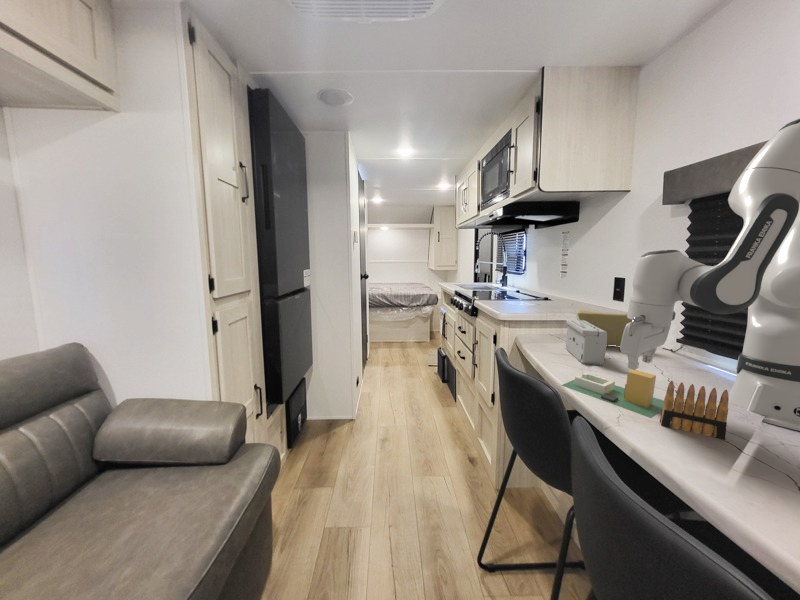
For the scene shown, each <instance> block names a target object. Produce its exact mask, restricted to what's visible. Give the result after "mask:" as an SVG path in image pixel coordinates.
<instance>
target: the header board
mask: <svg viewBox="0 0 800 600" xmlns="http://www.w3.org/2000/svg"><path fill="white" fill-rule="evenodd" d="M615 382H616V381H615V380H611V379H608V378H604V377H602V376H598V375H595V374H592V373H590V372H589V373H588V372H584V373H582V374H581V375H577V376H574V379H572V380H570V381H568V382H566V383H563V384H561V386H562V387H565V388H568V389H571V390H573V391H576V392H578V393H581V394H584V395H587V396H589V397H592V398H595V399H598V400H600V401H603V402H605V403H608V404H612V405H613V406H617V407H620V408H623V409H625V410H627V411H631V412H633V413H636V414H638V415H641V416H644V417H647V418H651V419H652V418H653V417H654V416H656V415H657V414H658V413H660V412H662V409H663V405H664V400H663V399H660V398H657V397H654V396H653V401H652V405H650V406H649V407H647V408H646V407H643V406H640V405H637V404H635V403H632V402H629V401H626V400H624V399H625V398H624V391H625V387H621V386H619V385H616V383H615Z"/></svg>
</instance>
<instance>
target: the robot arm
mask: <svg viewBox="0 0 800 600" xmlns="http://www.w3.org/2000/svg"><path fill="white" fill-rule="evenodd" d="M727 202H728V205H729V208H730V209H731V210H732V211H733V213H735V214H736V215H738V216H740V217H741V218H742V219H743V226H742V229H741V230H740V232H739V234H738V236H737V237H736V239H735V241H734V242H733V243H732V245H731V248H730V249H729V250H728V253H727V254H726V256H725V258H724V259H723V260H722V261H721V262H719V263H718V264H716V265H714V266H712V265H706V264H705V263H701V262H699V261H696V260H694V259H691V257H688V256H687V255H684V254H683V253H682V251H680V250H678V249H667V250H666V249H663V250H654V251H649V252H646V253H644V254H643V255H641V256H640V257H639V259H638V262H637V264H636V268H635V272H634V274H633V280H632V288H633V291H632V295H631V297H630V299H629V304H628V309H627V314H628V315H627V318H629V319H631V320H633V321H632V322H630V323H628V324H627V325H626V326H625V329H624V332H623V336H622V341H621V345H620V348H619V349H620V352H621V353H623V354H626V355H627V361H628V362H627V368H628V369H630V370H637V369H639V366H640V365H639V364H640V362H639V358H640V355H641V354H643V355H642V359H641V360H642V362H643V363H646V364H650V363H652V362H653V359H654V355H655V354H656V352H657V350H658V349H657V348H659V347H661V346H663V345H665V343H666V341H667V339H668V336H669V333H670V330H671V325H672V321H675V319H676V314H677V313H676V312H675V310H674V309H675V304H676V303H677V302H679V301H681V302H683V303H686V304H688V305H691V306H696V307H699V308H700V309H703V310H704V311H706V312H709V313H712V314H715V315H730V314H731V315H732V314H736V313H740V312H742V311H744V310H746V309H747V325H746V331H745V337H744V340H743V341H744V342H743V348H742V352H740V353H739V355H738V358H737V363H736V368H735V369H736V373H737V374H736V376H735V379H734V382H733V385H732V387H731V389H730V391H729V392H728V396H729V400H728V405H733V406H735V407H739V408H741V409H744V410H745V411H747V412H748V413H750V414H752V415H753V416H756V417H760V418H763V419H762V421H761V422H762V423H768V424H771V425H775V426H779V427H783V428H786V429H790V430H795V431H799V432H800V118H798V119H795V120H792V121H790V122H788V123H786V124H785V125H784V126H782V127H781V128H780V129H779V130H778V131H777V132H776V133H775V134H774V135H772V136H771V138H769V140H768V141H767V142H766V143H765V144H764V145H763V146H762V147H761V148H760V149H759V150H758V152H757V153H756V154H755V156H753V157H752V159H751V160H750V161H749V163H748V164H747V166H746V167H745V168H744V169H743V170H742V172H741V174H740V175H739V177H738V178H737V180H736V182H735V183H734V185H733V186H732V188H731V191H730V193H729V195H728V198H727Z"/></svg>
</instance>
